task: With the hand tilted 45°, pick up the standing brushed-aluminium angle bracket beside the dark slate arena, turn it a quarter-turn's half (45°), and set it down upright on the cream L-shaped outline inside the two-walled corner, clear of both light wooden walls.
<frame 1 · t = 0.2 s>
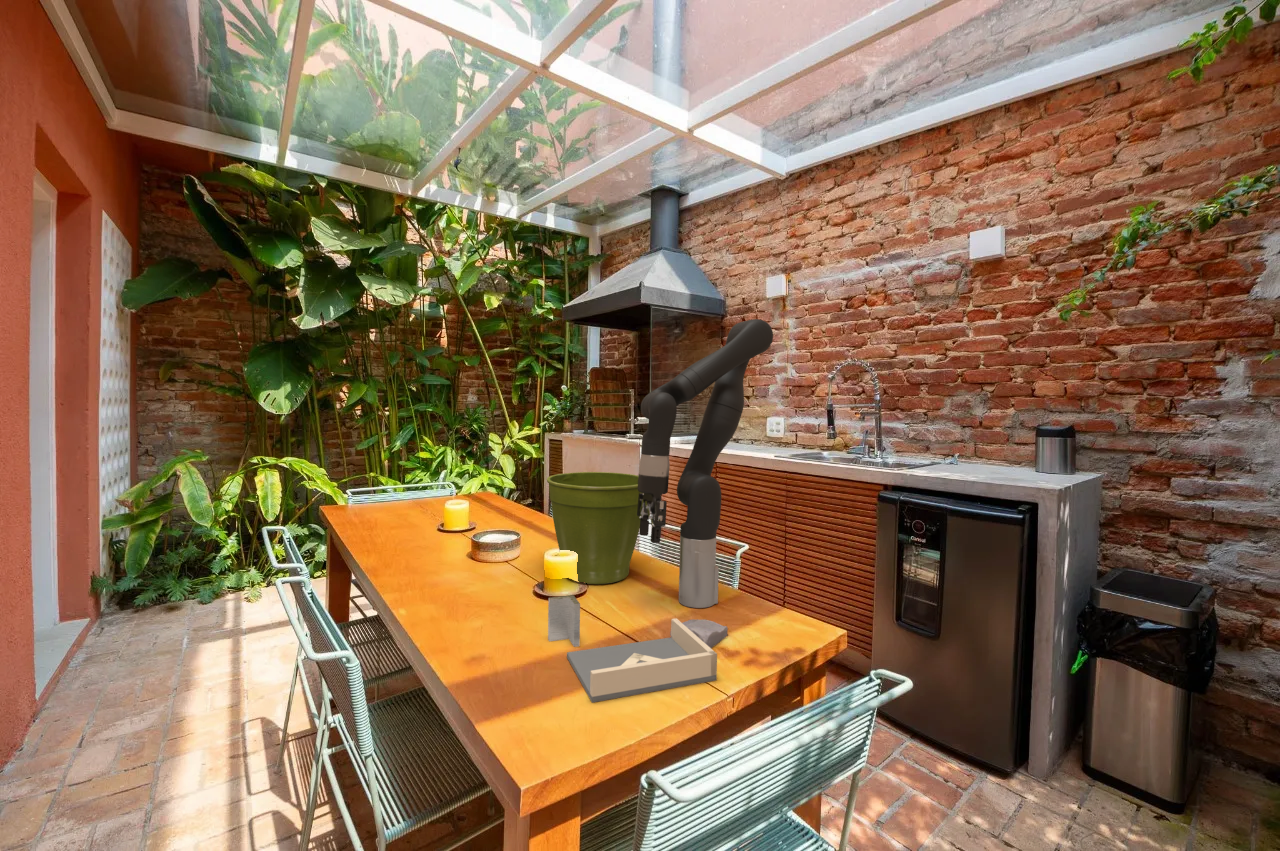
hand: (649, 538, 140), 18 cm above the table, tool pointing down, fingers open, 8 cm apart
bracket: (563, 642, 121), on the table
stone block: (696, 641, 124), on the table, touching arena
arena: (638, 668, 110), on the table
plant pot: (597, 576, 167), on the table
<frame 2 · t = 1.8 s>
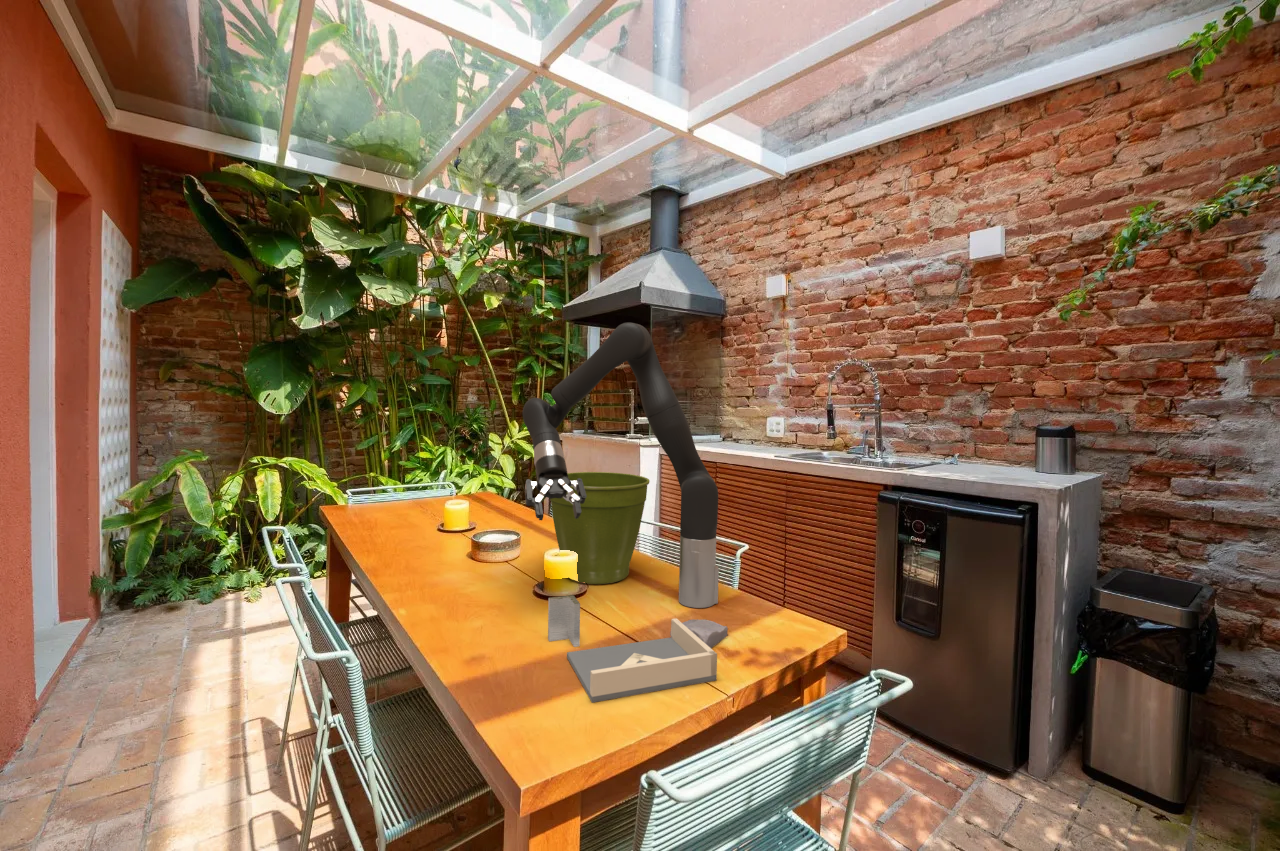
hand: (559, 517, 132), 24 cm above the table, tool tilted 45°, fingers open, 8 cm apart
nothing on the table moved.
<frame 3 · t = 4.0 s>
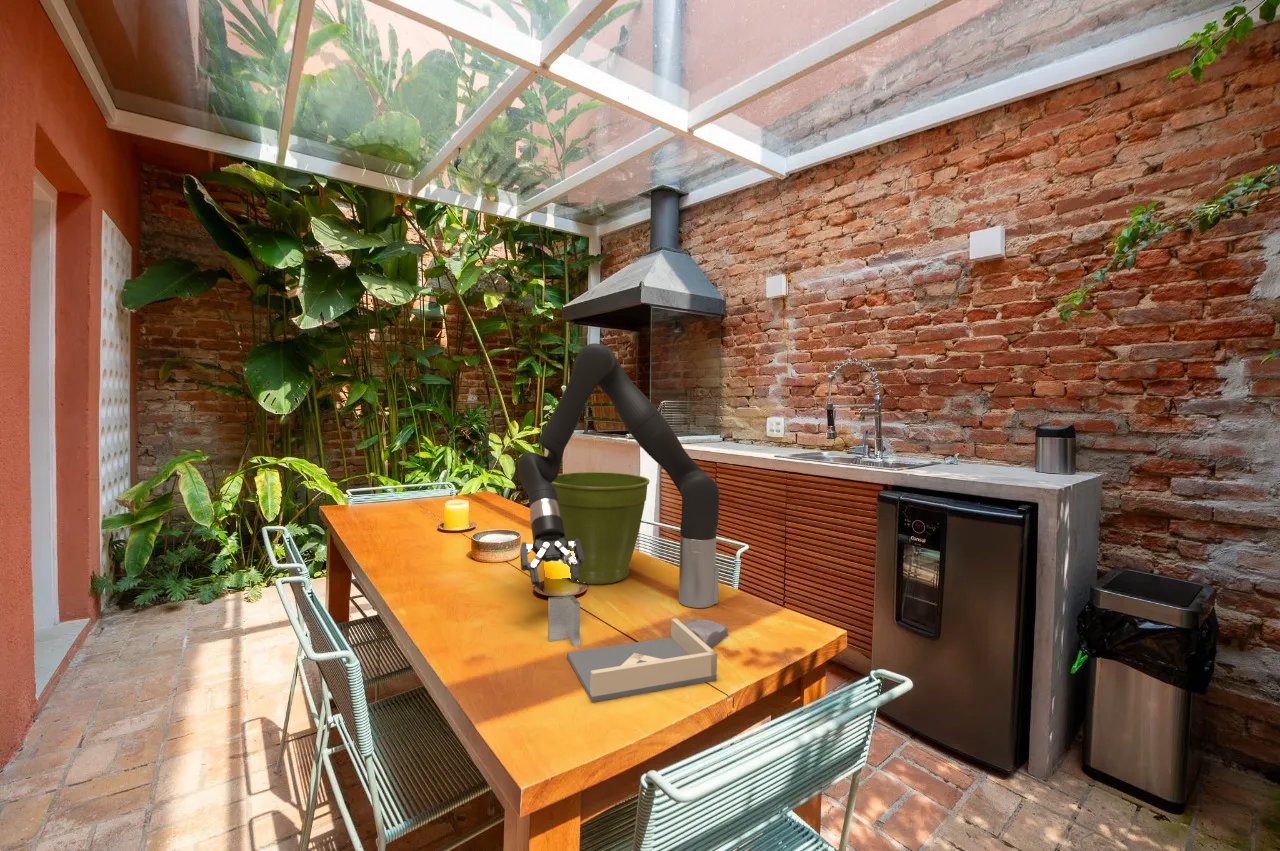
hand: (556, 583, 127), 10 cm above the table, tool tilted 45°, fingers open, 8 cm apart
nothing on the table moved.
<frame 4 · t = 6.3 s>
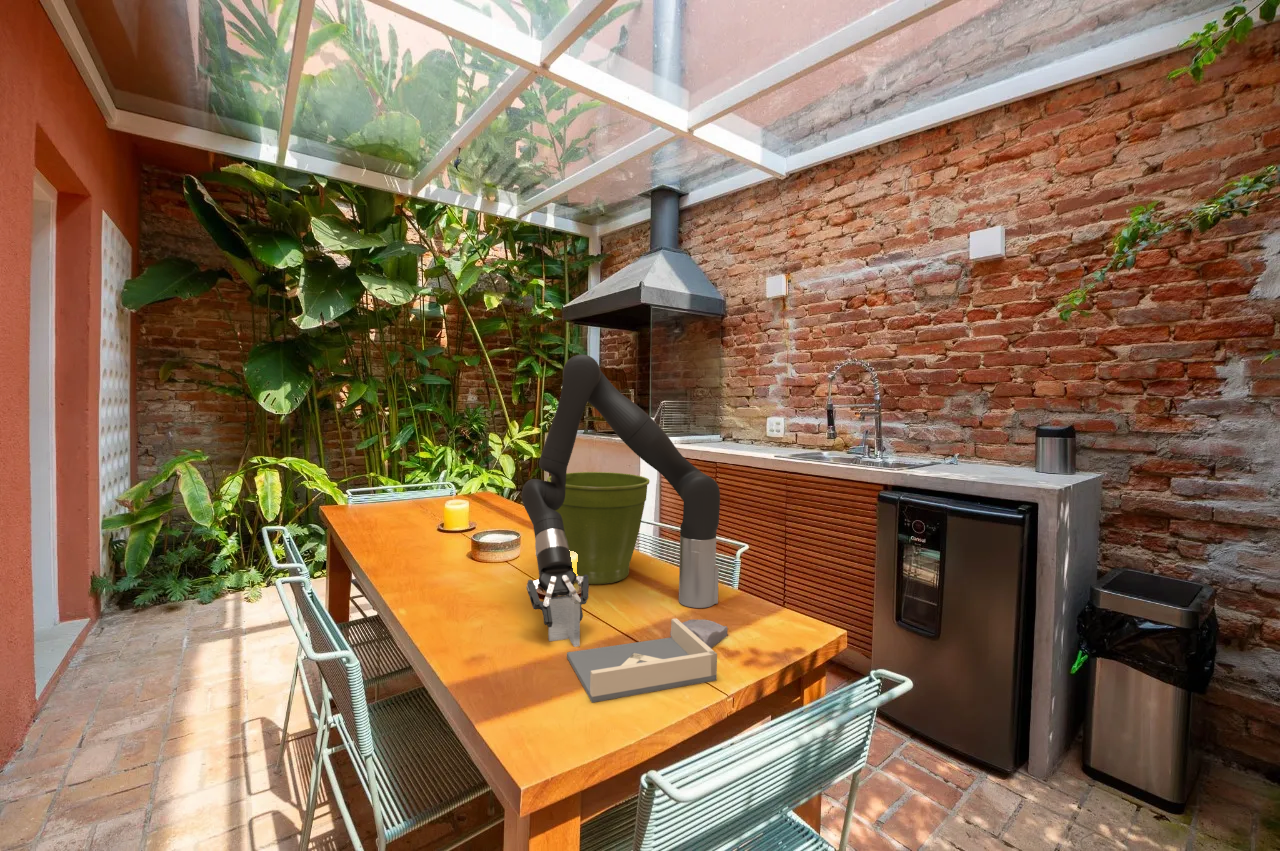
hand: (564, 623, 120), 4 cm above the table, tool tilted 45°, fingers closed on bracket, 5 cm apart
bracket: (563, 642, 121), on the table, touching gripper
everything else where it was.
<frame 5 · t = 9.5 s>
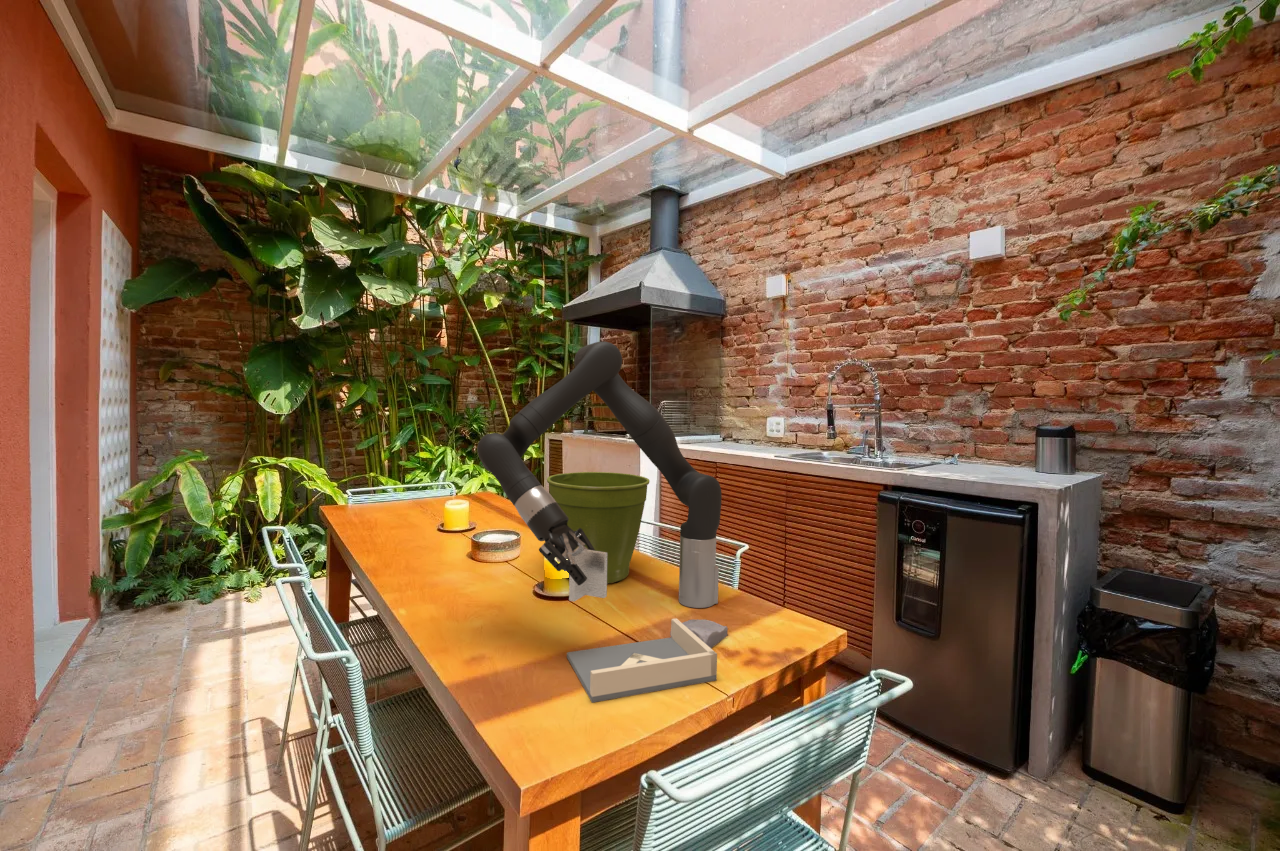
hand: (590, 577, 113), 16 cm above the table, tool tilted 45°, fingers closed on bracket, 5 cm apart
bracket: (588, 598, 114), point 12 cm above the table, touching gripper
everything else where it was.
when the fingers open (7 cm above the table, at t = 12.6 s): bracket drops 1 cm, resting on arena.
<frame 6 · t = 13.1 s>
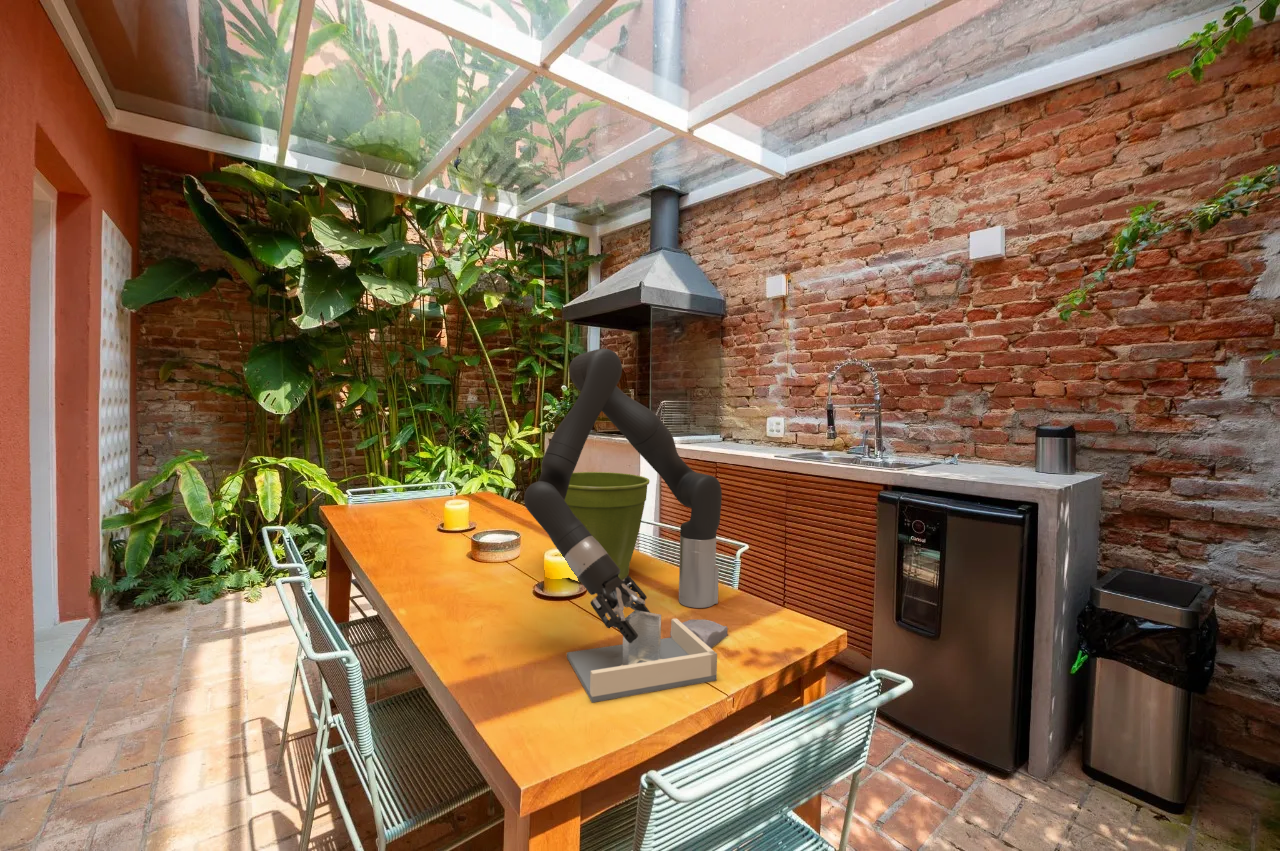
hand: (643, 631, 109), 7 cm above the table, tool tilted 45°, fingers open, 8 cm apart
bracket: (641, 663, 109), point 1 cm above the table, touching arena
everything else where it was.
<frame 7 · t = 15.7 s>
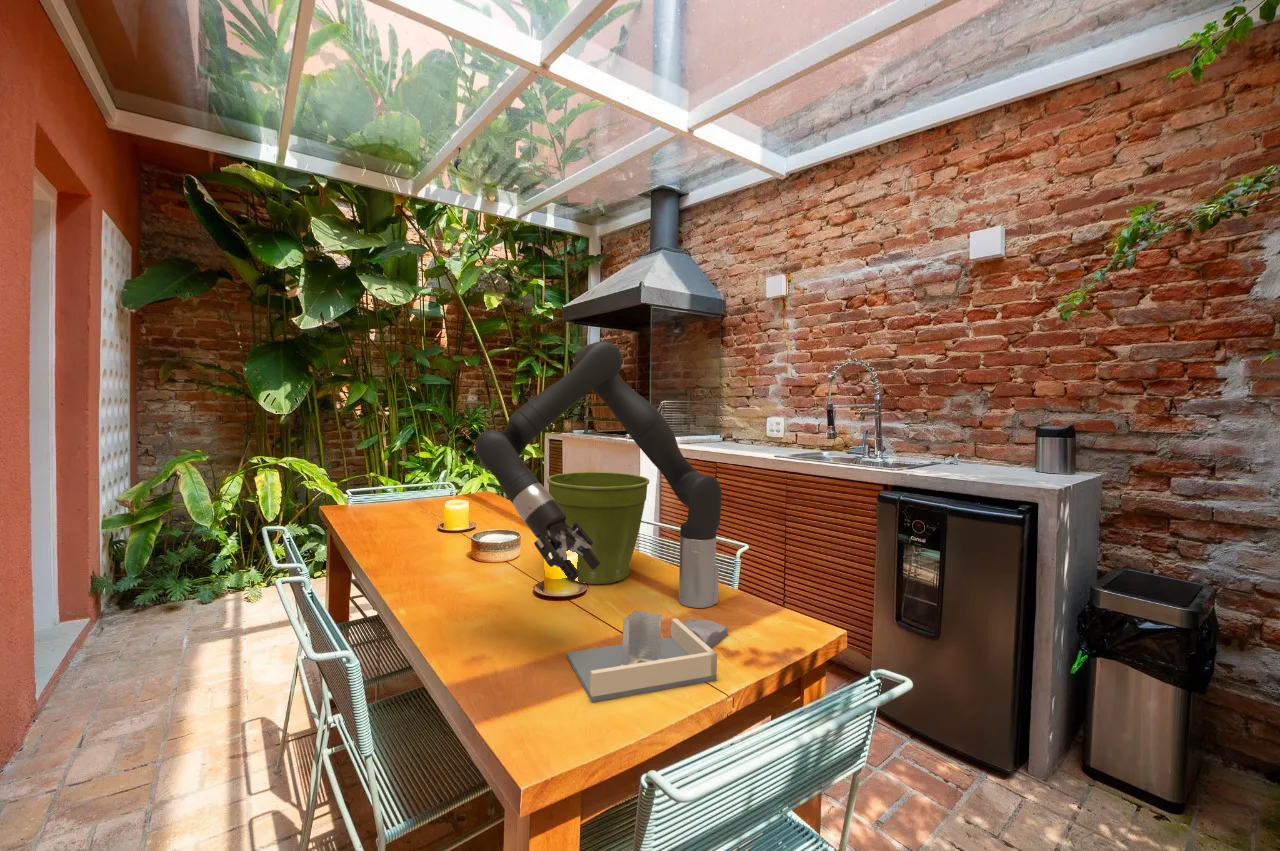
hand: (586, 572, 114), 17 cm above the table, tool tilted 45°, fingers open, 8 cm apart
nothing on the table moved.
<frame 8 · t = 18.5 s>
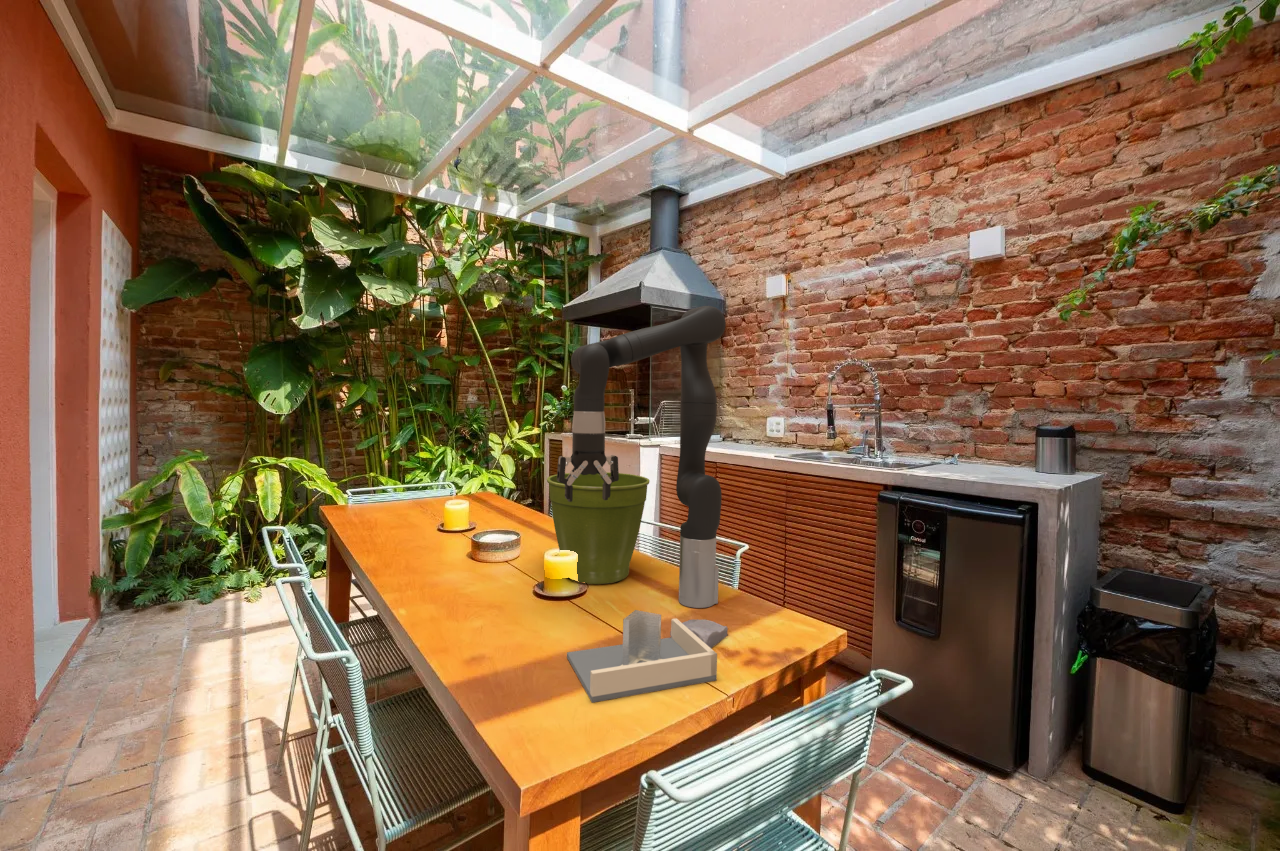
hand: (587, 500, 132), 28 cm above the table, tool pointing down, fingers open, 8 cm apart
nothing on the table moved.
at the end: bracket 0.2 cm off-centre on the arena, point 1.2 cm above the arena's base; bracket tilted 0°; the gripper is holding nothing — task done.
